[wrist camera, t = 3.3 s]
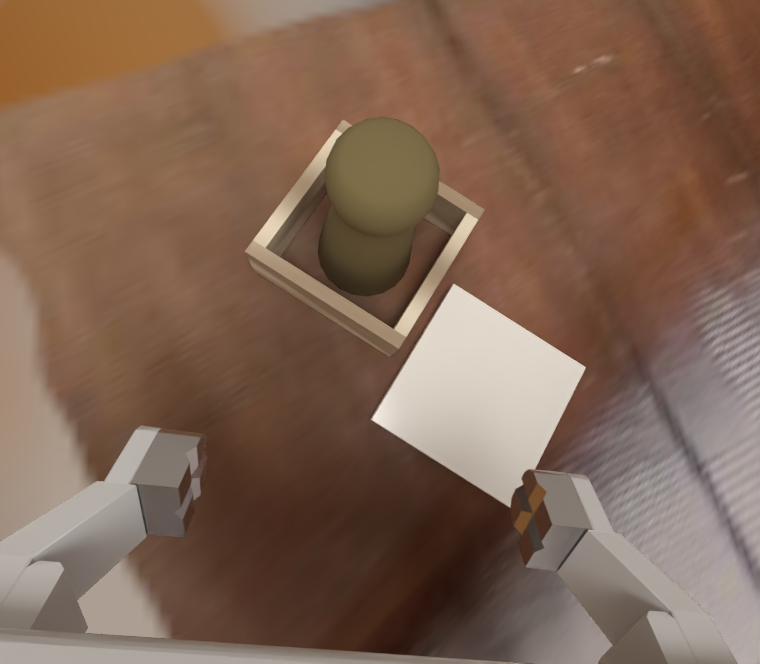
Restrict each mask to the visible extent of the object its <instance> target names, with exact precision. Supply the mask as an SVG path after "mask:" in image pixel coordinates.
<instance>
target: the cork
mask: <svg viewBox="0 0 760 664" xmlns="http://www.w3.org/2000/svg"><path fill="white" fill-rule="evenodd" d="M439 170H440V169H439V165H438V161H437V158H436V154H435V152H434V151H433V149H432V147H431V146H430V144H429V143H428V141H427V140H426V138H425V137H424V136H423V135H422V134H421V133H420V132H418V131H417V130H416V129H415V128H414V127H413V126H411V125H409V124H406V123H404V122H402V121H400V120H398V119H391V118H385V117H379V118H372V119H366V120H364V121H362V122H359V123H357V124H355V125H353V126H351V127H349V128H348V129H347V130H345V131H344V132H343V133H342V134H341V135H340V136H339V137H338V138H337V139H336V141H335V143H334V145H333V147H332V149H331V151H330V153H329V156H328V158H327V160H326V169H325V186H326V190H327V194H328V198H329V201H330V202H331V206H330V209H329V212H328V215H327V218H326V221H325V224H324V227H323V230H322V233H321V236H320V240H319V249H318V255H319V259H320V264H321V267H322V269H323V271H324V272H325V274H326V275H327V277H328V279H329V280H330V281H332V282H333V283H334V284H335V285H336V286H337V287H338V288H340V289H342V290H344V291H346V292H349V293H351V294H353V295H363V296H371V295H376V294H381V293H383V292H385V291H387V290H389V289H390V288H392V287H394V286H395V285H396V284H397V283H398V282H399V281H400V279H401V278H402V277H403V276H404V274H405V272H406V269H407V267H408V264H409V260H410V254H411V247H412V241H413V235H414V229H415V226H416V225H417V224H419V222H420V221H421V220H422V219H423V218H424V217H425V216H426V215H427V214H428V213H429V211H430V209H431V208H432V205H433V203H434V201H435V198H436V196H437V194H438V190H439Z"/></svg>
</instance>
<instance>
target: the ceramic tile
mask: <svg viewBox="0 0 760 664" xmlns="http://www.w3.org/2000/svg"><path fill="white" fill-rule="evenodd" d="M585 368H586V367H584V366H583V365H581V364H580V363H578V362H576V361H575V360H573V359H572V358H570V357H569V356H567V355H565V354H564V353H562V352H561V351H559V350H558V349H556V348H554V347H553V346H551V345H550V344H548V343H546V342H545V341H543V340H542V339H540V338H539V337H537V336H535V335H534V334H532V333H531V332H529V331H528V330H526V329H524V328H523V327H521V326H520V325H518V324H516V323H515V322H513V321H512V320H510V319H509V318H507V317H505V316H504V315H502V314H501V313H499V312H498V311H496V310H494V309H493V308H491V307H490V306H488V305H487V304H485V303H483V302H482V301H480V300H479V299H477V298H475V297H474V296H472V295H471V294H469V293H468V292H466V291H464V290H463V289H461V288H460V287H458V286H457V285H455V284H453V285H452V286H451V287H450V288H449V290H448V291H447V293H446V295H445V296H444V298H443V300H442V301H441V303H440V304H439V306H438V308H437V309H436V311H435V313H434V314H433V316H432V318H431V319H430V321H429V323H428V324H427V326H426V328H425V329H424V331H423V333H422V334H421V336H420V337H419V339H418V341H417V342H416V344H415V346H414V347H413V349H412V351H411V352H410V354H409V356H408V357H407V359H406V361H405V362H404V364H403V365H402V367H401V369H400V370H399V372H398V374H397V375H396V377H395V379H394V380H393V382H392V384H391V385H390V387H389V389H388V390H387V392H386V394H385V395H384V397H383V398H382V400H381V402H380V403H379V405H378V407H377V408H376V410H375V412H374V413H373V415H372V417H371V418H370V420H371V421H373V422H374V423H376V424H378V425H379V426H381V427H382V428H384V429H385V430H387V431H389V432H390V433H392V434H393V435H395V436H396V437H398V438H400V439H401V440H403V441H404V442H406V443H408V444H409V445H411V446H412V447H414V448H415V449H417V450H419V451H420V452H422V453H423V454H425V455H427V456H428V457H430V458H431V459H433V460H434V461H436V462H438V463H439V464H441V465H442V466H444V467H446V468H447V469H449V470H450V471H452V472H453V473H455V474H457V475H458V476H460V477H461V478H463V479H465V480H466V481H468V482H469V483H471V484H472V485H474V486H476V487H477V488H479V489H480V490H482V491H484V492H485V493H487V494H488V495H490V496H491V497H493V498H495V499H496V500H498V501H499V502H501V503H503V504H504V505H506V506H507V507H509V508H510V507H511V499H512V496H513V493H514V491H515V489H516V488H518V487H520V486H522V485H523V482H522V479H521V478H522V476H523V474H524V472H525V471H527V470H528V469H533V470H535V468H536V466H537V464H538V462H539V460H540V458H541V456H542V454H543V452H544V450H545V448H546V446H547V444H548V442H549V440H550V438H551V436H552V434H553V432H554V430H555V428H556V426H557V424H558V422H559V420H560V418H561V416H562V414H563V412H564V410H565V408H566V406H567V404H568V402H569V400H570V398H571V396H572V394H573V392H574V390H575V388H576V386H577V384H578V382H579V380H580V378H581V376H582V374H583V372H584V370H585Z"/></svg>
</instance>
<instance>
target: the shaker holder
mask: <svg viewBox="0 0 760 664" xmlns="http://www.w3.org/2000/svg"><path fill="white" fill-rule="evenodd" d="M351 126H352V125H350V124H349V123H347V122H346V121H344V120H343V121H342V122H341V123H340V125H339V126H338V127H337V129H336V130H335V131H334V133H333V134H332V135H331V137H330V138H329V139H328V141H327V142H326V143H325V145H324V146H323V147H322V149H321V150H320V151H319V153H318V154H317V155H316V157H315V158H314V159H313V161H312V162H311V163H310V165H309V166H308V167H307V169H306V170H305V171H304V173H303V174H302V176H301V177H300V178H299V180H298V181H297V182H296V184H295V185H294V186H293V188H292V189H291V190H290V192H289V193H288V194H287V196H286V197H285V198H284V200H283V201H282V202H281V204H280V205H279V206H278V208H277V209H276V210H275V212H274V213H273V214H272V216H271V217H270V218H269V220H268V221H267V222H266V224H265V225H264V226H263V228H262V229H261V230H260V232H259V233H258V234H257V236H256V237H255V238H254V240H253V241H252V242H251V244H250V245H249V246H248V248H247V249H246V250H245V253H246V255H247V257H248V259H249V261H250V263H251V265H252V268H253V270H254V271H255V272H256V273H258V274H259V275H261V276H262V277H264V278H266V279H267V280H269V281H270V282H272V283H274V284H275V285H277V286H278V287H280V288H281V289H283V290H285V291H286V292H288V293H289V294H291V295H293V296H294V297H296V298H297V299H299V300H300V301H302V302H304V303H305V304H307V305H308V306H310V307H311V308H313V309H315V310H316V311H318V312H319V313H321V314H323V315H324V316H326V317H327V318H329V319H330V320H332V321H334V322H335V323H337V324H338V325H340V326H342V327H343V328H345V329H346V330H348V331H349V332H351V333H353V334H354V335H356V336H357V337H359V338H360V339H362V340H364V341H365V342H367V343H368V344H370V345H372V346H373V347H375V348H376V349H378V350H379V351H381V352H383V353H384V354H386V355H387V356H389V357H391V356H392V355H393V354H394V353H395V352H396V351H397V350H398V349H399V348H400V346H401V345H402V343H403V341H404V340H405V338H406V337H407V335H408V333H409V332H410V330H411V328H412V327H413V325H414V324H415V322H416V320H417V319H418V317H419V315H420V314H421V312H422V311H423V309H424V307H425V306H426V304H427V302H428V301H429V299H430V298H431V296H432V294H433V293H434V291H435V289H436V288H437V286H438V285H439V283H440V281H441V280H442V278H443V276H444V275H445V273H446V272H447V270H448V268H449V267H450V265H451V263H452V262H453V260H454V258H455V257H456V255H457V254H458V252H459V250H460V249H461V247H462V245H463V244H464V242H465V241H466V239H467V237H468V236H469V234H470V232H471V231H472V229H473V228H474V226H475V224H476V223H477V221H478V219H479V218H480V216H481V215H482V213H483V211H484V209H483V208H481V207H480V206H478V205H477V204H475V203H473V202H472V201H470V200H469V199H467V198H466V197H464V196H462V195H461V194H459V193H458V192H456V191H454V190H453V189H451V188H450V187H448V186H447V185H445V184H443V183H442V182H440V181H439V190H438V194H437V196H436V198H435V201H434V203H433V205H432V208H431V209H430V211H429V213H428V214H427V215H426V216H425V217H424V219H426V220H427V221H429V222H430V223H432V224H434V225H435V226H437V227H438V228H440V229H441V230H443V231H445V232H446V233H448V234H449V235H451V236H450V238H449V240H448V241H447V243H446V244H445V246H444V248H443V249H442V251H441V252H440V254H439V256H438V257H437V259H436V260H435V262H434V264H433V265H432V267H431V268H430V270H429V272H428V273H427V275H426V276H425V278H424V280H423V281H422V283H421V284H420V286H419V288H418V289H417V291H416V292H415V294H414V296H413V297H412V299H411V300H410V302H409V304H408V305H407V307H406V308H405V310H404V312H403V313H402V315H401V316H400V318H399V320H398V321H397V323H396V324H395V326H394V328H391V327H390V326H388V325H386V324H385V323H383V322H382V321H380V320H378V319H377V318H375V317H374V316H372V315H371V314H369V313H367V312H366V311H364V310H363V309H361V308H360V307H358V306H356V305H355V304H353V303H352V302H350V301H348V300H347V299H345V298H344V297H342V296H341V295H339V294H337V293H336V292H334V291H333V290H331V289H329V288H328V287H326V286H325V285H323V284H322V283H320V282H318V281H317V280H315V279H314V278H312V277H311V276H309V275H307V274H306V273H304V272H303V271H301V270H299V269H298V268H296V267H295V266H293V265H292V264H290V263H288V262H287V261H285V260H284V259H282V258H281V255H282V254H283V253H284V251H285V250H286V249H287V247H288V246H289V244H290V243H291V242H292V240H293V239H294V237H295V236H296V235H297V233H298V232H299V231H300V229H301V228H302V226H303V225H304V224H305V222H306V221H307V219H308V218H309V217H310V215H311V214H312V213H313V211H314V210H315V208H316V207H317V206H318V204H319V203H320V201H321V200H322V199H323V197H324V196H325V195H326V193H327V190H326V186H325V169H326V160H327V158H328V156H329V153H330V151H331V149H332V147H333V145H334V143H335V141H336V139H337V138H338V137H339V136H340V135H341V134H342V133H343V132H344V131H345V130H347V129H348V128H349V127H351Z"/></svg>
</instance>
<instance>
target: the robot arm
mask: <svg viewBox="0 0 760 664" xmlns="http://www.w3.org/2000/svg"><path fill="white" fill-rule="evenodd" d="M206 445H207V438H206V434H203V433H196V432H188V431H181V430H174V429H166V428H157V427H149V426H140V427H138V428H137V429H136V430H135V431H134V433H133V434H132V436H131V438H130V439H129V441H128V443H127V444H126V446H125V447H124V449H123V451H122V452H121V454H120V456H119V457H118V459H117V461H116V462H115V464H114V465H113V467H112V469H111V470H110V472H109V474H108V475H107V477H106V479H105V480H104V482H103V481H96V482H95V483H93V484H91V485H90V486H88V487H87V488H85V489H84V490H82V491H80V492H79V493H77V494H76V495H74V496H72V497H71V498H69V499H68V500H66V501H64V502H63V503H61V504H60V505H58V506H57V507H55V508H53V509H52V510H50V511H49V512H47V513H46V514H44V515H42V516H41V517H39V518H37V519H36V520H34V521H33V522H32V523H30V524H28V525H26V526H25V527H23V528H22V529H20V530H19V531H17V532H15V533H14V534H12V535H10V536H9V537H7V538H6V539H4V540H3V541H1V542H0V664H531V663H516V662H502V661H487V660H473V659H458V658H444V657H429V656H414V655H400V654H385V653H371V652H356V651H341V650H327V649H312V648H298V647H283V646H268V645H253V644H239V643H224V642H209V641H194V640H180V639H165V638H150V637H136V636H121V635H106V634H91V633H85V632H86V630H87V628H88V627H87V624H86V621H85V619H84V616H83V614H82V612H81V609H80V607H79V604H78V602H77V600H78V599H79V598H80V597H81V596H82V595H84V594H85V593H86V592H87V591H88V590H89V589H90V588H91V587H92V586H93V585H94V584H96V583H97V582H98V581H99V580H100V579H101V578H102V577H103V576H104V575H105V574H107V573H108V572H109V571H110V570H111V569H112V568H113V567H114V566H115V565H116V564H117V563H119V562H120V561H121V560H122V559H123V558H124V557H125V556H126V555H127V554H128V553H129V552H131V551H132V550H133V549H134V548H135V547H136V546H137V545H138V544H139V543H140V542H142V541H143V540H144V539H145V538H146V537H147V535H146V534H148V535H164V536H180V537H185V535H186V532H187V530H188V527H189V524H190V522H191V519H192V517H193V514H194V511H195V510H194V500H195V499H196V498H197V497H199V496H200V495H201V493H202V490H203V487H204V485H205V481H206V476H207V472H208V456H207V455H206V454H205V453H204V450H205V448H206ZM521 479H522V482H523V485H522V486H520V487H518V488H516V489H515V491H514V493H513V496H512V499H511V507H510V509H511V517H512V521H513V525H514V526H515V528H516V529H517V530H518V531H519V532H520V533H521V534H522V535H521V537H520V539H519V541H518V543H519V547H520V550H521V554H522V558H523V561H524V565H525V567H527V568H536V569H544V570H553V571H558V572H557V573H558V575H559V576H560V577H561V579H562V580H563V581H564V582H565V584H566V585H567V586H568V588H569V589H570V590H571V591H572V593H573V594H574V595H575V597H576V598H577V599H578V600H579V602H580V603H581V604H582V606H583V607H584V608H585V610H586V611H587V612H588V613H589V615H590V616H591V617H592V619H593V620H594V621H595V622H596V624H597V625H598V626H599V628H600V629H601V630H602V631H603V633H604V634H605V635H606V637H607V638H608V639H609V641H610V642H611V643H612V644H613V646H612V647H611V648H610V649H609V650H608V651H607V652H606V653H605V654H604V655H603V656H602V657H601V659H600V661H599V662H598V663H599V664H737V662H736V660H735V659H734V657H733V655H732V653H731V651H730V650H729V648H728V646H727V644H726V643H725V641H724V639H723V637H722V636H721V634H720V632H719V630H718V628H717V627H716V625H715V623H714V621H713V620H712V618H711V616H710V614H709V613H707V612H706V611H705V610H704V609H703V608H702V607H701V606H700V605H699V604H698V603H696V602H695V601H694V600H693V599H692V598H691V597H690V596H689V595H688V594H687V593H685V592H684V591H683V590H682V589H681V588H680V587H679V586H678V585H677V584H676V583H674V582H673V581H672V580H671V579H670V578H669V577H668V576H667V575H666V574H665V573H663V572H662V571H661V570H660V569H659V568H658V567H657V566H656V565H655V564H654V563H652V562H651V561H650V560H649V559H648V558H647V557H646V556H645V555H644V554H642V553H641V552H640V551H639V550H638V549H637V548H636V547H635V546H634V545H633V544H631V543H630V542H629V541H628V540H627V539H626V538H625V537H624V536H623V535H622V534H620V533H617V532H614V531H613V529H612V526H611V524H610V522H609V520H608V518H607V516H606V514H605V512H604V510H603V508H602V506H601V503H600V501H599V499H598V497H597V495H596V493H595V491H594V489H593V487H592V485H591V482H590V480H589V479H588V478H587V477H586V476H585V475H580V474H570V473H563V472H554V471H543V470H533V469H528V470H527V471H525V472H524V474H523V476H522V478H521Z"/></svg>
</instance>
